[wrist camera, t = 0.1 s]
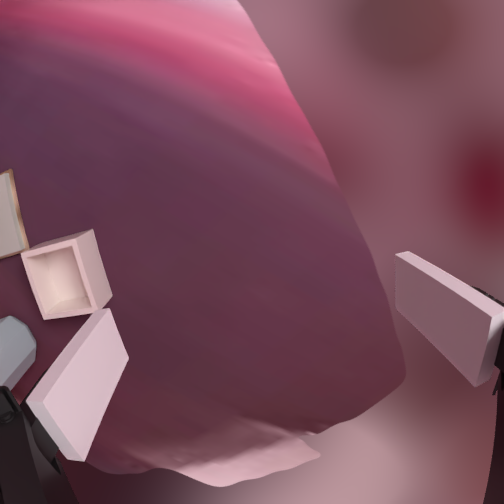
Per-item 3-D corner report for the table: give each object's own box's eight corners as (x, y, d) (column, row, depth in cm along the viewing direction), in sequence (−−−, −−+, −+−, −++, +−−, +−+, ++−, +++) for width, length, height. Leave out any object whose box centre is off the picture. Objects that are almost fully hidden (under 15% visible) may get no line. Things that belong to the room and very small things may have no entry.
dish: (40, 243, 39) (20, 253, 34) (92, 229, 39) (75, 238, 34) (60, 304, 42) (43, 319, 37) (112, 295, 42) (99, 312, 37)
